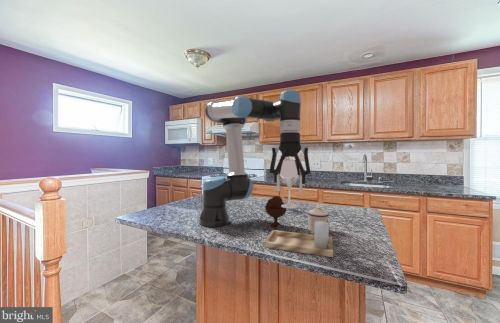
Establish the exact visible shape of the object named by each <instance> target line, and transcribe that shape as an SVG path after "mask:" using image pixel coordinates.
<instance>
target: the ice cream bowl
mask: <svg viewBox="0 0 500 323" xmlns="http://www.w3.org/2000/svg"><path fill="white" fill-rule="evenodd" d="M283 204H286V203H284V202H283V198H282V197H281V196H279V195H275V196H273V197H272V198H269V199H268V200H267V202H266V205H265V206H264V209H265V212H266V214H267V215H268V216H270V217H272V218H273V222H272V223H270V225H269V226H270V227H271V228H278V227H279V226H282V224H281V223H280V222H278V219H279V218H281V217H283V216H284V215H285V214H286V212H287V210H288V208H283V207H281V205H283Z"/></svg>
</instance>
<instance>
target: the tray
mask: <svg viewBox="0 0 500 323" xmlns="http://www.w3.org/2000/svg"><path fill="white" fill-rule="evenodd" d="M263 248H269V249H276V250H281V251H282V250H283V251H287V252H295V253H296V252H297V253H303V254H311V255H315V256H323V257H329V258H330V257H331V258H334V242H333V237H332V236H328V249H327V250H326V249H319V248H315V247H314V234H312V233H311V234H309V233H301V232H293V231H292V232H291V231H284V230H276V229H272V231H271V232H270V233H269V234H268V236H267V237H266V239H265V240H264V241H263Z"/></svg>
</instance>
